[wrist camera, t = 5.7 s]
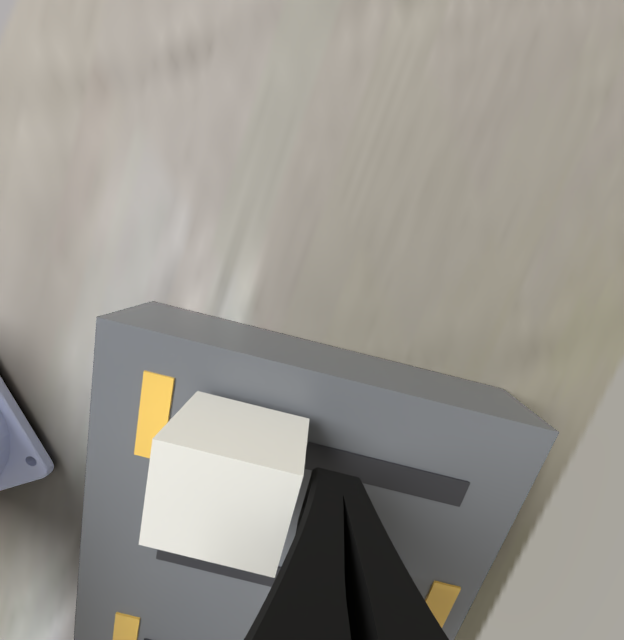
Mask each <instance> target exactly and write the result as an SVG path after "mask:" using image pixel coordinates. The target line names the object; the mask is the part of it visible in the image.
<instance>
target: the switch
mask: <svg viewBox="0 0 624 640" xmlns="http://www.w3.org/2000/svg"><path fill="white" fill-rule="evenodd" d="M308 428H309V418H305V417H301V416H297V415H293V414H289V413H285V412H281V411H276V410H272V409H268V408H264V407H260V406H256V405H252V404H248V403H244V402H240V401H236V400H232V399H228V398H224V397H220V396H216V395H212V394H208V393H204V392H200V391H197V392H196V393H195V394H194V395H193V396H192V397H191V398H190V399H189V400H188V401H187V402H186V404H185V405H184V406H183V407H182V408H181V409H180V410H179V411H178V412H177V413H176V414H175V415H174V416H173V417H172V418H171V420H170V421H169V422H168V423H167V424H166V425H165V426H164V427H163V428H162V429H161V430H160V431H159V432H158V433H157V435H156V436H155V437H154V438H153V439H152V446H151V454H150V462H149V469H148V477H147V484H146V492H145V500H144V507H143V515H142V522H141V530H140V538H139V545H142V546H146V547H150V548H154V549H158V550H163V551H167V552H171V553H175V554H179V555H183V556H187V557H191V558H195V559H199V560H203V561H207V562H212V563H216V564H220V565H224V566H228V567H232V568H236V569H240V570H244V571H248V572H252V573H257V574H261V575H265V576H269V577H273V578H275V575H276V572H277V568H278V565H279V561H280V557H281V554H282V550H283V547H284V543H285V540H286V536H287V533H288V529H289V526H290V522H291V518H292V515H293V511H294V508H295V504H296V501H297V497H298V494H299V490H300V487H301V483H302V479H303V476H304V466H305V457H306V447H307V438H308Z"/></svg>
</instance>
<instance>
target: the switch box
mask: <svg viewBox="0 0 624 640" xmlns="http://www.w3.org/2000/svg"><path fill="white" fill-rule="evenodd" d="M197 391H200V392H204V393H208V394H212V395H216V396H220V397H224V398H228V399H232V400H236V401H240V402H244V403H248V404H252V405H256V406H260V407H264V408H268V409H272V410H276V411H281V412H285V413H289V414H293V415H297V416H301V417H305V418H309V428H308V438H307V447H306V457H305V466H304V476H303V479H302V483H301V487H300V490H299V494H298V497H297V501H296V504H295V508H294V511H293V515H292V518H291V522H290V526H289V529H288V533H287V536H286V540H285V543H284V547H283V550H282V554H281V557H280V561H279V565H278V568H277V572H276V575H275V578H273V577H269V576H265V575H261V574H257V573H252V572H248V571H244V570H240V569H236V568H232V567H228V566H224V565H220V564H216V563H212V562H207V561H203V560H199V559H195V558H191V557H187V556H183V555H179V554H175V553H171V552H167V551H163V550H158V549H154V548H150V547H146V546H142V545H139V538H140V530H141V522H142V515H143V507H144V500H145V492H146V484H147V477H148V469H149V462H150V454H151V446H152V439H153V438H154V437H155V436H156V435H157V433H158V432H159V431H160V430H161V429H162V428H163V427H164V426H165V425H166V424H167V423H168V422H169V421H170V420H171V418H172V417H173V416H174V415H175V414H176V413H177V412H178V411H179V410H180V409H181V408H182V407H183V406H184V405H185V404H186V402H187V401H188V400H189V399H190V398H191V397H192V396H193V395H194V394H195V393H196V392H197ZM558 434H559V432H558V431H557V430H556V429H554V428H553V427H552V426H550V425H549V424H548V423H547V422H545V421H544V420H543V419H541V418H540V417H539V416H538V415H536V414H535V413H534V412H532V411H531V410H530V409H529V408H527V407H526V406H525V405H523V404H522V403H521V402H520V401H518V400H517V399H516V398H514V397H513V396H512V395H510V394H509V393H508V392H507V391H505V390H504V389H501V388H497V387H493V386H489V385H485V384H481V383H477V382H473V381H469V380H465V379H461V378H457V377H453V376H449V375H445V374H441V373H437V372H433V371H429V370H425V369H421V368H417V367H413V366H409V365H405V364H401V363H397V362H393V361H389V360H385V359H381V358H377V357H373V356H369V355H365V354H361V353H357V352H353V351H349V350H345V349H341V348H337V347H333V346H329V345H325V344H321V343H317V342H313V341H309V340H305V339H301V338H298V337H294V336H290V335H286V334H282V333H278V332H274V331H270V330H266V329H262V328H258V327H254V326H250V325H246V324H242V323H238V322H234V321H230V320H226V319H222V318H218V317H214V316H210V315H206V314H202V313H198V312H194V311H190V310H186V309H182V308H178V307H174V306H170V305H166V304H162V303H158V302H154V301H152V302H148V303H144V304H141V305H137V306H134V307H130V308H127V309H123V310H119V311H116V312H112V313H109V314H105V315H102V316H98V317H97V320H96V334H95V348H94V362H93V376H92V390H91V404H90V418H89V432H88V446H87V460H86V475H85V489H84V503H83V517H82V531H81V545H80V559H79V573H78V587H77V601H76V615H75V629H74V640H244V638H245V637H246V635H247V633H248V631H249V629H250V628H251V626H252V624H253V622H254V620H255V618H256V617H257V615H258V613H259V611H260V609H261V607H262V605H263V603H264V601H265V599H266V597H267V595H268V593H269V591H270V589H271V587H272V585H273V583H274V581H275V579H276V577H277V575H278V573H279V571H280V569H281V566H282V564H283V562H284V560H285V557H286V555H287V553H288V551H289V548H290V546H291V544H292V542H293V539H294V537H295V534H296V529H297V523H298V518H299V515H300V511H301V508H302V504H303V501H304V497H305V494H306V491H307V487H308V484H309V480H310V477H311V473H312V470H313V469H315V468H317V467H319V468H323V469H327V470H331V471H335V472H339V473H343V474H347V475H351V476H356V477H359V478H360V479H361V481H362V483H363V485H364V487H365V489H366V491H367V494H368V496H369V498H370V500H371V502H372V504H373V506H374V508H375V510H376V512H377V514H378V516H379V518H380V520H381V522H382V524H383V526H384V528H385V530H386V532H387V534H388V536H389V538H390V539H391V541H392V543H393V545H394V547H395V549H396V550H397V552H398V554H399V556H400V558H401V560H402V562H403V563H404V565H405V567H406V569H407V571H408V572H409V574H410V576H411V578H412V579H413V581H414V583H415V585H416V586H417V588H418V590H419V591H420V593H421V595H422V596H423V598H424V600H425V602H426V603H427V605H428V607H429V608H430V610H431V612H432V613H433V615H434V616H435V618H436V620H437V621H438V623H439V625H440V626H441V628H442V629H443V631H444V632H445V634H446V636H447V637H448V639H449V640H454V638H455V637H456V635H457V633H458V631H459V629H460V627H461V625H462V623H463V621H464V619H465V617H466V615H467V613H468V611H469V609H470V607H471V605H472V603H473V601H474V599H475V597H476V595H477V593H478V591H479V589H480V587H481V585H482V583H483V581H484V579H485V577H486V575H487V574H488V572H489V570H490V568H491V566H492V564H493V562H494V560H495V558H496V556H497V554H498V552H499V550H500V548H501V546H502V544H503V542H504V540H505V538H506V536H507V534H508V532H509V530H510V528H511V526H512V524H513V522H514V520H515V518H516V516H517V514H518V512H519V511H520V509H521V507H522V505H523V503H524V501H525V499H526V497H527V495H528V493H529V491H530V489H531V487H532V485H533V483H534V481H535V479H536V477H537V475H538V473H539V471H540V469H541V467H542V465H543V463H544V461H545V459H546V457H547V455H548V453H549V451H550V449H551V448H552V446H553V444H554V442H555V440H556V438H557V436H558Z"/></svg>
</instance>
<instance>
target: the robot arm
mask: <svg viewBox="0 0 624 640" xmlns="http://www.w3.org/2000/svg"><path fill="white" fill-rule="evenodd" d="M53 469H54V464H53V462H52V460H51V458H50V457H49V455H48V453H47V452H46V450H45V449H44V447H43V445H42V444H41V442H40V440H39V439H38V437H37V435H36V434H35V432H34V431H33V429H32V427H31V426H30V424H29V422H28V421H27V419H26V417H25V416H24V414H23V412H22V411H21V409H20V408H19V406H18V404H17V403H16V401H15V399H14V398H13V396H12V394H11V393H10V391H9V389H8V388H7V386H6V385H5V383H4V381H3V380H2V378H1V376H0V491H1V490H5V489H8V488H11V487H15V486H18V485H22V484H25V483H28V482H32V481H35V480H39V479H42V478H44V477H46V476H47V475H49V474H50V473H51V472H52V471H53ZM244 640H449V639H448V637H447V636H446V634H445V632H444V631H443V629H442V628H441V626H440V625H439V623H438V621H437V620H436V618H435V616H434V615H433V613H432V612H431V610H430V608H429V607H428V605H427V603H426V602H425V600H424V598H423V596H422V595H421V593H420V591H419V590H418V588H417V586H416V585H415V583H414V581H413V579H412V578H411V576H410V574H409V572H408V571H407V569H406V567H405V565H404V563H403V562H402V560H401V558H400V556H399V554H398V552H397V550H396V549H395V547H394V545H393V543H392V541H391V539H390V538H389V536H388V534H387V532H386V530H385V528H384V526H383V524H382V522H381V520H380V518H379V516H378V514H377V512H376V510H375V508H374V506H373V504H372V502H371V500H370V498H369V496H368V494H367V491H366V489H365V487H364V485H363V483H362V481H361V479H360V478H359V477H356V476H351V475H347V474H343V473H339V472H335V471H331V470H327V469H323V468H319V467H317V468H315V469H313V470H312V473H311V477H310V480H309V484H308V487H307V491H306V494H305V497H304V501H303V504H302V508H301V511H300V515H299V518H298V523H297V529H296V534H295V537H294V539H293V542H292V544H291V546H290V548H289V551H288V553H287V555H286V557H285V560H284V562H283V564H282V566H281V569H280V571H279V573H278V575H277V577H276V579H275V581H274V583H273V585H272V587H271V589H270V591H269V593H268V595H267V597H266V599H265V601H264V603H263V605H262V607H261V609H260V611H259V613H258V615H257V617H256V618H255V620H254V622H253V624H252V626H251V628H250V629H249V631H248V633H247V635H246V637H245V638H244Z"/></svg>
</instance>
